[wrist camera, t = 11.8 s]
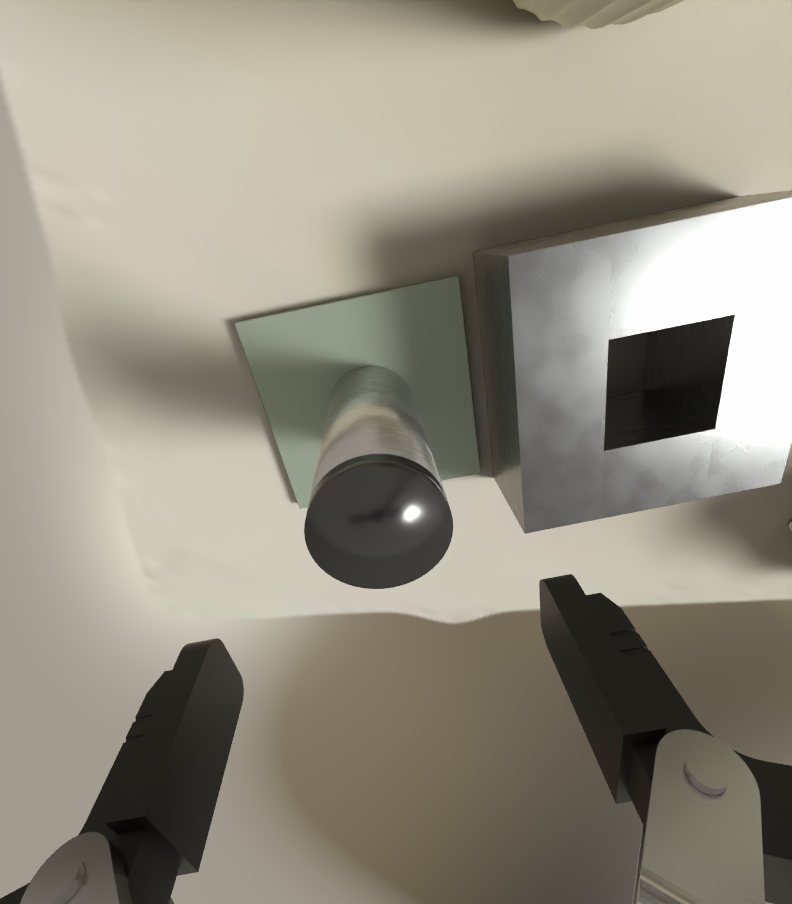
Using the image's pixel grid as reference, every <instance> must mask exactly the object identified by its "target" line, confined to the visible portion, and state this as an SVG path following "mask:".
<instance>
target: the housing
mask: <svg viewBox="0 0 792 904" xmlns="http://www.w3.org/2000/svg"><path fill="white" fill-rule="evenodd" d="M473 257H474V268H475V279H476V289H477V300H478V311H479V322H480V332H481V343H482V354H483V364H484V375H485V386H486V396H487V407H488V418H489V428H490V439H491V450H492V460H493V471H494V479H495V481H496V482H497V484H498V486H499V488H500V490H501V491H502V493H503V495H504V497H505V499H506V501H507V502H508V504H509V506H510V508H511V510H512V511H513V513H514V515H515V517H516V519H517V520H518V522H519V524H520V526H521V528H522V529H523V531H524V533H530V532H535V531H540V530H545V529H550V528H555V527H560V526H566V525H571V524H576V523H581V522H586V521H591V520H596V519H601V518H606V517H612V516H617V515H622V514H627V513H632V512H637V511H642V510H647V509H652V508H658V507H663V506H668V505H673V504H678V503H683V502H688V501H693V500H699V499H704V498H709V497H714V496H719V495H724V494H729V493H734V492H739V491H745V490H750V489H755V488H760V487H765V486H770V485H775V484H780V483H781V480H782V476H783V473H784V469H785V465H786V461H787V458H788V454H789V450H790V447H791V443H792V191H782V192H773V193H764V194H755V195H746V196H738V197H734V198H729V199H724V200H719V201H714V202H710V203H705V204H700V205H695V206H690V207H686V208H681V209H676V210H671V211H666V212H662V213H657V214H652V215H647V216H642V217H638V218H633V219H628V220H623V221H618V222H614V223H609V224H604V225H599V226H594V227H590V228H585V229H580V230H575V231H571V232H566V233H561V234H556V235H551V236H547V237H542V238H537V239H532V240H527V241H523V242H518V243H513V244H508V245H503V246H499V247H494V248H489V249H484V250H479V251H475V252H473ZM645 332H649V337H648V349H647V361H646V372H645V384H644V391H639V392H634V393H629V394H624V395H619V396H614V397H609V398H606V387H607V364H608V341H609V340H610V339H615V338H620V337H625V336H630V335H635V334H640V333H645Z"/></svg>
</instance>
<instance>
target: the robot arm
mask: <svg viewBox="0 0 792 904" xmlns="http://www.w3.org/2000/svg"><path fill="white" fill-rule="evenodd" d="M539 587H540V613H541V627H542V631H543V635H544V639H545V642H546V645H547V648H548V650H549V652H550V655H551V657H552V659H553V661H554V664H555V666H556V668H557V671H558V673H559V675H560V677H561V680H562V682H563V684H564V686H565V689H566V691H567V693H568V696H569V698H570V700H571V702H572V705H573V707H574V709H575V711H576V714H577V716H578V718H579V721H580V723H581V725H582V728H583V730H584V732H585V734H586V737H587V739H588V741H589V743H590V746H591V748H592V750H593V752H594V755H595V757H596V759H597V761H598V764H599V766H600V768H601V771H602V773H603V775H604V778H605V780H606V782H607V784H608V787H609V789H610V791H611V794H612V796H613V798H614V800H615V803H616V804H617V803H623V802H629V801H632V802H633V804H634V806H635V808H636V811H637V813H638V814H639V817H640V819H641V821H642V823H643V829H642V836H641V844H640V852H639V859H638V867H637V874H636V882H635V889H634V897H633V904H765V901H766V902H770V903H773V904H792V766H789V765H783V764H777V763H772V762H766V761H761V760H757V759H753V758H751V757H747V756H745V755H743V754H740V753H738V752H736V751H734V750H732V749H731V748H730V747H728V746H727V745H725V744H724V743H723V742H721V741H719V740H718V739H716V738H714V737H713V736H712V735H711V734H710V733H709V732H708V731H707V730H706V729H705V728H704V727H703V726H702V725H701V724H700V723H699V721H698V720H697V719H696V717H695V716H694V715H693V713H692V712H691V710H690V709H689V707H688V706H687V704H686V703H685V701H684V700H683V698H682V697H681V695H680V694H679V693H678V691H677V690H676V688H675V687H674V685H673V684H672V682H671V681H670V679H669V678H668V676H667V675H666V674H665V672H664V670H663V669H662V668H661V666H660V665H659V664H658V662H657V660H656V659H655V657H654V656H653V654H652V653H651V652H650V651H649V650H648V649H647V646H646V644H645V643H644V641H643V640H642V639H641V637H640V635H639V634H638V633H636V631H635V628H634V627H633V625H632V624H631V622H630V621H629V619H628V618H627V616H626V615H625V614H624V612H623V610H622V609H621V608H620V607H619V606H617V605H616V604H615V603H613V602H612V601H611V600H609V599H608V598H607V597H606V596H604V595H603V594H602V593H597V594H591V595H585V593H584V591H583V590H582V588H581V587H580V585H579V583H578V582H577V580H576V579H575V577H574V576H573V575H571V574H569V575H564V576H559V577H553V578H548V579H542V580H540V583H539ZM243 692H244V688H243V681H242V677H241V675H240V673H239V671H238V669H237V667H236V666H235V664H234V662H233V660H232V658H231V657H230V655H229V653H228V651H227V649H226V648H225V646H224V644H223V642H222V641H221V640H220V639H212V640H207V641H201V642H196V643H190V644H187V645H185V646H184V647H183V648H182V650H181V652H180V654H179V656H178V659H177V661H176V663H175V665H174V668H173V670H170V671H165V672H164V673H163V674H162V676H161V677H160V678H159V679H158V680H157V682H156V683H155V684H154V686H153V687H152V688H151V689H150V690H149V691H148V693H147V694H146V696H145V699H144V701H143V703H142V705H141V707H140V709H139V711H138V713H137V715H136V721H135V722H133V724H132V726H131V728H130V730H129V732H128V734H127V736H126V742H125V743H123V745H122V747H121V749H120V751H119V753H118V755H117V758H116V760H115V762H114V764H113V766H112V768H111V770H110V772H109V774H108V777H107V779H106V781H105V783H104V785H103V787H102V789H101V791H100V793H99V796H98V798H97V800H96V802H95V804H94V806H93V808H92V810H91V812H90V814H89V817H88V819H87V821H86V823H85V825H84V827H83V828H82V830H81V832H80V833H79V835H78V836H76V837H74V838H72V839H71V840H69V841H68V842H66V843H65V844H63V845H62V846H61V847H60V848H59V849H57V850H56V851H55V852H54V853H53V854H52V855H51V856H50V857H49V858H48V859H47V860H46V861H45V863H44V864H43V865H42V866H41V867H40V869H39V870H38V871H37V873H36V874H35V876H34V877H33V879H32V880H31V882H30V883H28V884H27V885H25V886H23V887H21V888H19V889H17V890H16V891H14V892H12V893H10V894H8V895H6V896H4V897H3V898H1V899H0V904H174V902H173V900H172V898H171V893H172V890H173V887H174V883H175V880H176V876H177V875H183V874H189V873H195V872H198V870H199V867H200V863H201V859H202V855H203V851H204V848H205V843H206V840H207V836H208V832H209V829H210V825H211V821H212V817H213V813H214V809H215V806H216V802H217V798H218V794H219V790H220V786H221V783H222V779H223V775H224V771H225V767H226V764H227V760H228V756H229V752H230V748H231V744H232V740H233V737H234V733H235V729H236V725H237V721H238V717H239V714H240V709H241V706H242V702H243Z"/></svg>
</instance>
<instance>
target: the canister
mask: <svg viewBox="0 0 792 904" xmlns="http://www.w3.org/2000/svg"><path fill="white" fill-rule="evenodd" d="M682 1H684V0H513V2H514V3H515V5H516V6H517V8H518V9H525V10H527V11H530V12H532V13H533V14H535V15H536V16H537V17H538V18H539V19H540V20H541V21H548V20H551V21H555V22H558V23H560V24H561V25H562V26H564V27H568V28H570V27H574V26H585V27H587V28H590V29H597V28H601V27H604V26H606V25H609V24H626V23H630V22H632V21H635V20H637V19H640V18H642V17H644V16H646V15H648V14H652V13H656V12H659V11H662V10H664V9H667V8H669V7H671V6H673V5H676V4H678V3H680V2H682Z"/></svg>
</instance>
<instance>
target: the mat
mask: <svg viewBox="0 0 792 904" xmlns="http://www.w3.org/2000/svg"><path fill="white" fill-rule="evenodd" d="M234 324H235V326H236V329H237V332H238V335H239V338H240V341H241V343H242V346H243V349H244V352H245V355H246V358H247V361H248V363H249V366H250V369H251V372H252V375H253V378H254V380H255V383H256V386H257V389H258V392H259V395H260V397H261V400H262V403H263V406H264V409H265V412H266V415H267V417H268V420H269V423H270V426H271V429H272V432H273V434H274V437H275V440H276V443H277V446H278V449H279V451H280V454H281V457H282V460H283V463H284V466H285V469H286V471H287V474H288V477H289V480H290V483H291V486H292V488H293V491H294V494H295V497H296V500H297V503H298V505H299V508H300V509H301V508H306V507H308V505H309V500H310V495H311V490H312V485H313V480H314V475H315V470H316V465H317V460H318V455H319V450H320V445H321V440H322V435H323V430H324V425H325V420H326V415H327V410H328V405H329V400H330V396H331V393H332V390H333V388H334V386H335V385H336V383H337V382H338V381H339V379H340V378H341V377H342V376H344V375H345V374H346V373H348V372H349V371H351V370H353V369H356V368H359V367H362V366H381V367H385V368H388V369H390V370H392V371H394V372H396V373H397V374H399V375H400V376H401V377H402V378H403V379H404V380H405V381H406V382H407V384H408V385H409V387H410V389H411V391H412V394H413V397H414V400H415V403H416V406H417V409H418V412H419V415H420V418H421V421H422V424H423V428H424V431H425V434H426V437H427V440H428V443H429V446H430V449H431V452H432V455H433V458H434V461H435V464H436V468H437V471H438V474H439V477H440V480H441V481H442V480H447V479H452V478H457V477H462V476H467V475H472V474H477V473H480V465H479V456H478V447H477V438H476V429H475V420H474V411H473V402H472V393H471V384H470V375H469V366H468V357H467V347H466V338H465V329H464V320H463V311H462V302H461V293H460V284H459V277H458V276H454V277H449V278H445V279H440V280H435V281H430V282H425V283H420V284H416V285H411V286H406V287H401V288H396V289H392V290H387V291H382V292H377V293H372V294H367V295H363V296H358V297H353V298H348V299H343V300H339V301H334V302H329V303H324V304H319V305H314V306H310V307H305V308H300V309H295V310H290V311H286V312H281V313H276V314H271V315H266V316H261V317H257V318H252V319H247V320H242V321H237V322H236V323H234Z"/></svg>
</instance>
